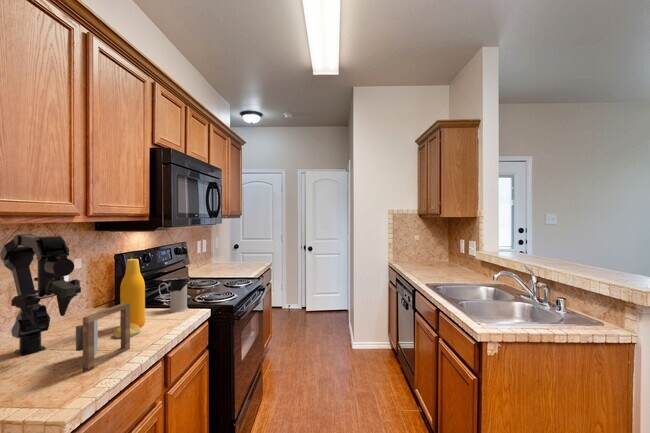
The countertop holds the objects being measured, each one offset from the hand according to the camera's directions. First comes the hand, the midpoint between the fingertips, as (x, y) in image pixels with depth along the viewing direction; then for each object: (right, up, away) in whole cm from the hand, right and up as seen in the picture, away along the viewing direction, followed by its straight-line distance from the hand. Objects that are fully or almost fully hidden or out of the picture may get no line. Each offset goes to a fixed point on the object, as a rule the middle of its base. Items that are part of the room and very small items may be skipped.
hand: (49, 320), depth 106 cm
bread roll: (+12, -13, +22) cm, 29 cm away
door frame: (+20, -13, 0) cm, 24 cm away
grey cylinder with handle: (+15, -13, +56) cm, 59 cm away
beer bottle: (+9, -13, +32) cm, 35 cm away
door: (+12, -12, -1) cm, 17 cm away
